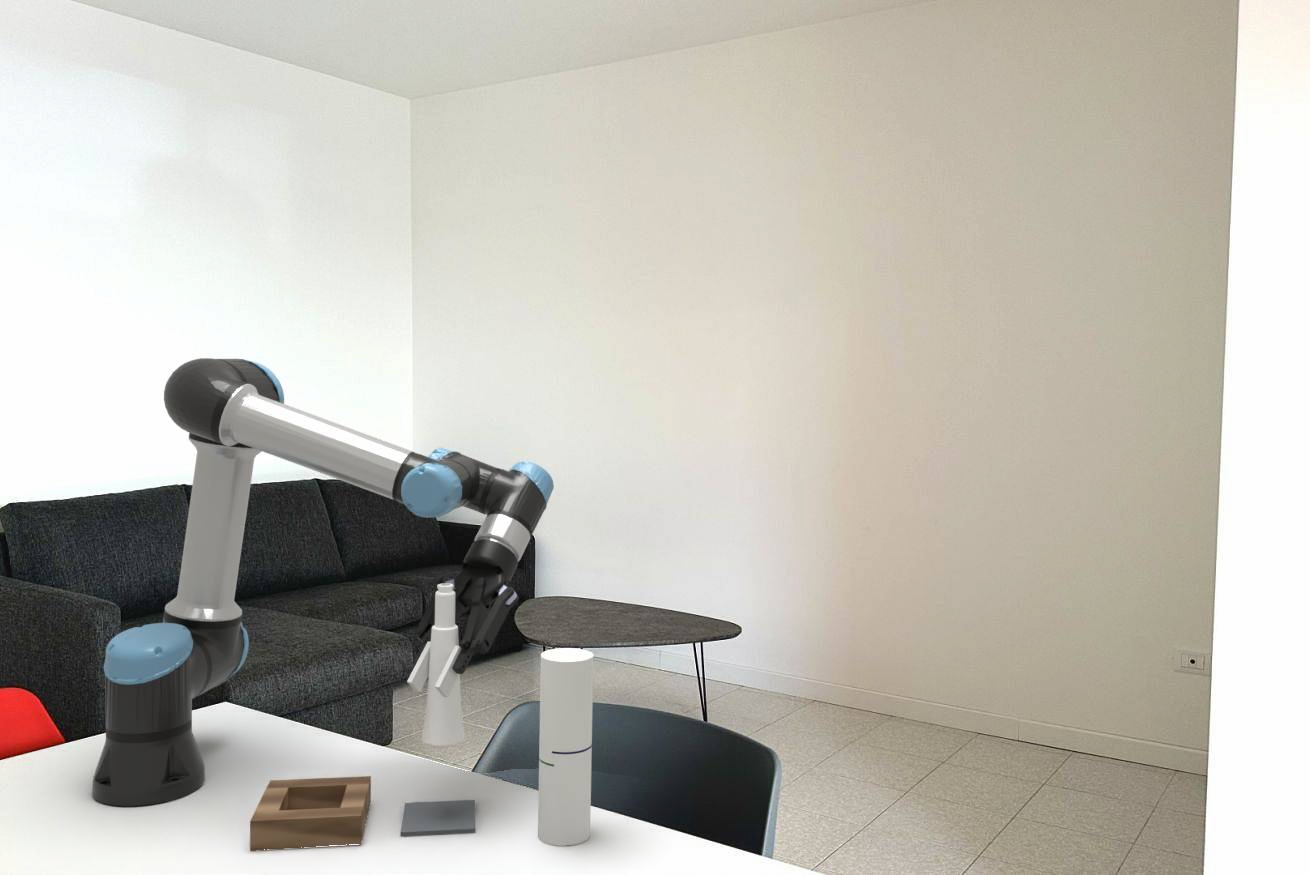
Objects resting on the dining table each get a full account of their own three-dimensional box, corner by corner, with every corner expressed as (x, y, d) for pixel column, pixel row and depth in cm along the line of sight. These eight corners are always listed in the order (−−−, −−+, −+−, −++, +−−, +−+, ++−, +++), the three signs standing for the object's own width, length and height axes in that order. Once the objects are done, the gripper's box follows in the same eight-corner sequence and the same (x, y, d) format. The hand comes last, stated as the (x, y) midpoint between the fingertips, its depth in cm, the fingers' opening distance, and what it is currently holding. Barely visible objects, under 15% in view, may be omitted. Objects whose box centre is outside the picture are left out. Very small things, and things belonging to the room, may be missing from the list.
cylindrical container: (582, 848, 141) (585, 663, 139) (530, 842, 142) (533, 659, 141) (595, 826, 148) (599, 650, 146) (546, 821, 149) (549, 646, 148)
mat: (405, 806, 153) (405, 802, 153) (475, 803, 155) (475, 799, 155) (400, 836, 143) (400, 832, 143) (475, 832, 145) (475, 828, 145)
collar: (270, 807, 152) (270, 780, 151) (370, 802, 154) (370, 776, 154) (250, 851, 138) (250, 821, 138) (360, 845, 140) (361, 815, 140)
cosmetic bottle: (450, 749, 144) (452, 590, 143) (412, 743, 146) (414, 586, 145) (473, 736, 150) (475, 582, 149) (436, 729, 152) (438, 578, 151)
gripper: (554, 572, 157) (490, 712, 143) (459, 561, 164) (390, 694, 150) (535, 541, 152) (467, 684, 138) (439, 532, 159) (365, 666, 145)
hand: (427, 689), depth 144 cm, fingers closed on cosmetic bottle, 4 cm apart
